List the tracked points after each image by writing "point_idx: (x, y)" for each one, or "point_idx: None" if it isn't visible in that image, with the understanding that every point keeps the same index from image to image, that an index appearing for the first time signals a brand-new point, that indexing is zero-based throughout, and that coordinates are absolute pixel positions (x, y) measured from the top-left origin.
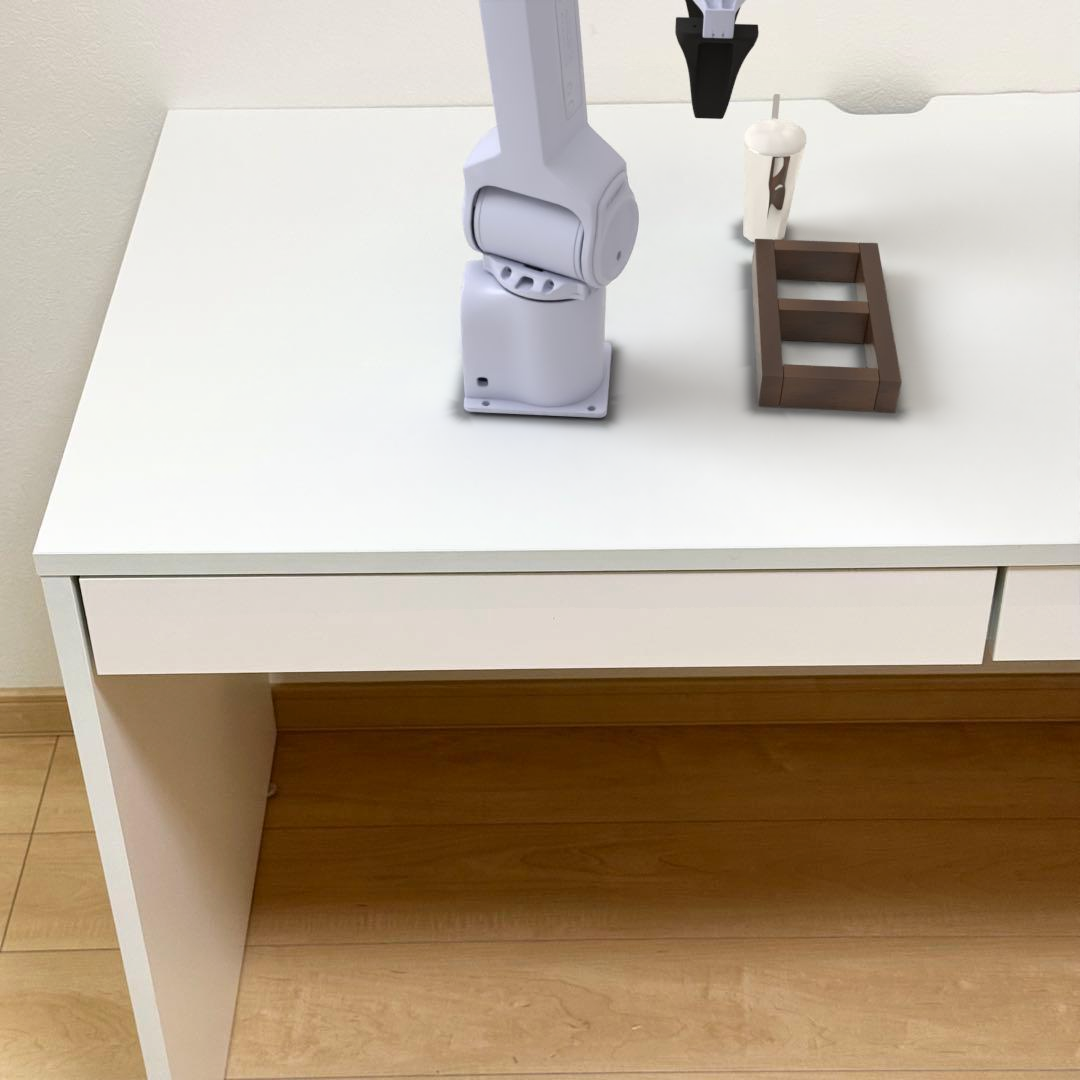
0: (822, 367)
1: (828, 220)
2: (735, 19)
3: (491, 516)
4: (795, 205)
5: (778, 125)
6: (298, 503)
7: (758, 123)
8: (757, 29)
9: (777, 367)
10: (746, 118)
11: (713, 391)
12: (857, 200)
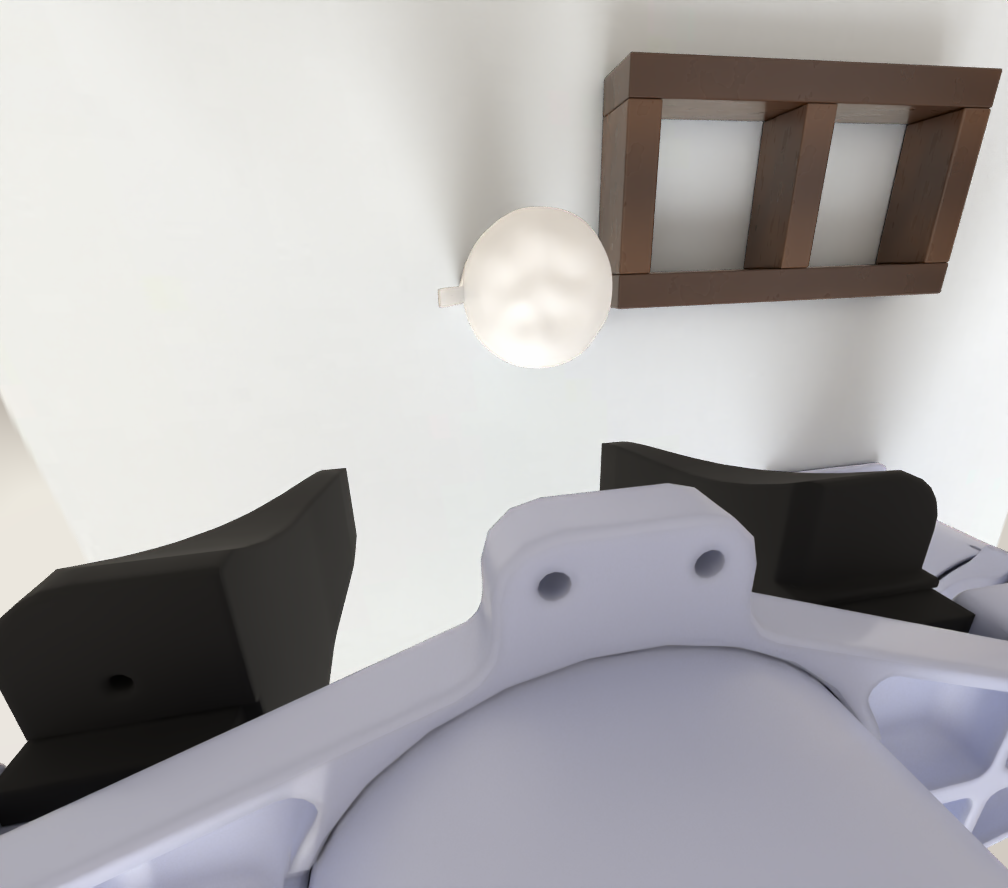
0: (945, 202)
1: (431, 153)
2: (303, 516)
3: (973, 533)
4: (386, 221)
5: (547, 288)
6: None
7: (527, 341)
8: (869, 482)
9: (931, 271)
10: (27, 325)
11: (853, 348)
12: (341, 76)
